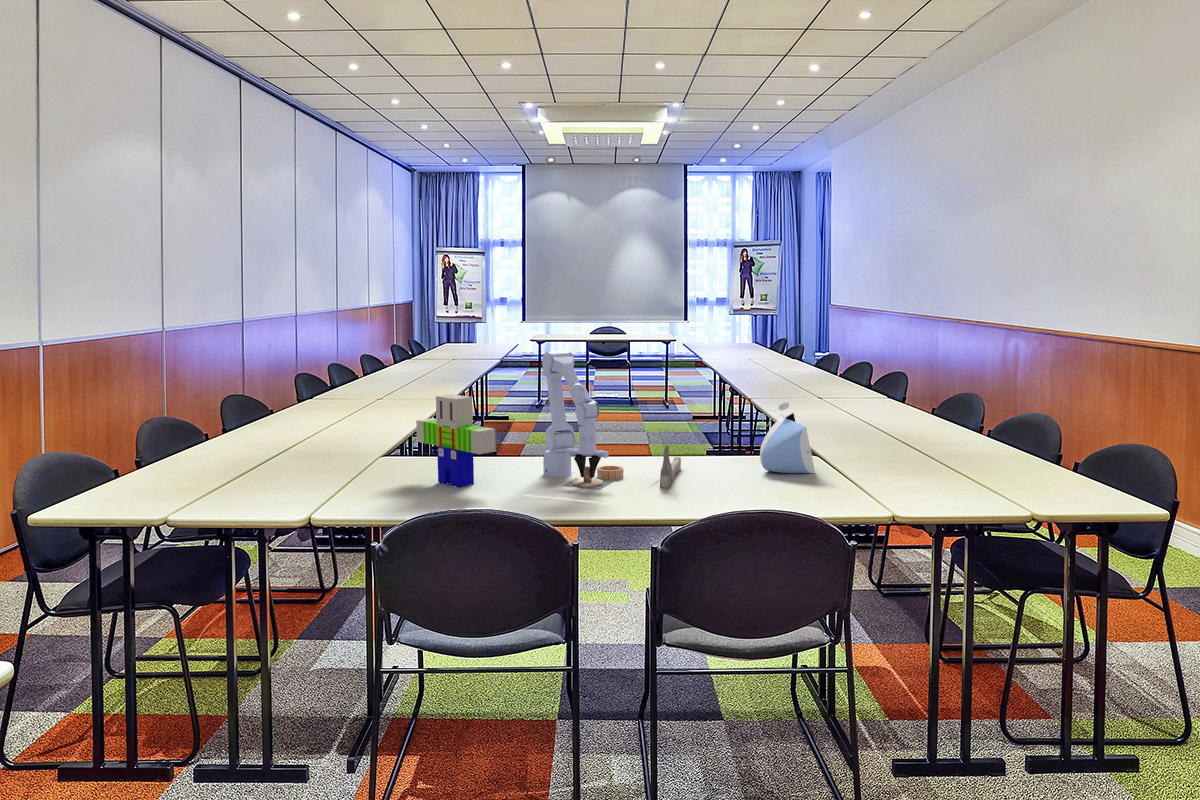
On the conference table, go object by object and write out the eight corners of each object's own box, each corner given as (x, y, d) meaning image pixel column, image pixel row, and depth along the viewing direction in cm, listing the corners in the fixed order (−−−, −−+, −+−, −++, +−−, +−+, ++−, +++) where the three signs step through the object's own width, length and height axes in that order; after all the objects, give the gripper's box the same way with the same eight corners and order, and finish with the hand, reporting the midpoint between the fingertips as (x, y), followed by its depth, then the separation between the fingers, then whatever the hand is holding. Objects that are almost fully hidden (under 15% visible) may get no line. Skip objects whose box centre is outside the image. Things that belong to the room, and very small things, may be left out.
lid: (567, 485, 302) (567, 468, 301) (579, 479, 311) (579, 462, 311) (595, 488, 298) (595, 471, 297) (607, 481, 307) (607, 465, 307)
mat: (561, 487, 302) (561, 485, 302) (575, 480, 313) (575, 478, 313) (600, 491, 297) (600, 489, 297) (613, 483, 308) (613, 481, 307)
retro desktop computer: (789, 397, 336) (823, 402, 322) (800, 454, 342) (834, 461, 328) (740, 423, 323) (773, 429, 309) (753, 481, 330) (786, 490, 316)
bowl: (593, 479, 313) (593, 469, 313) (603, 474, 321) (603, 464, 321) (617, 482, 310) (617, 471, 309) (626, 476, 318) (626, 466, 317)
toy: (418, 477, 317) (415, 393, 313) (433, 474, 322) (431, 391, 318) (480, 493, 294) (478, 402, 290) (496, 489, 299) (494, 400, 295)
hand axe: (668, 490, 298) (668, 449, 296) (658, 490, 298) (658, 448, 297) (682, 472, 332) (682, 435, 331) (673, 471, 333) (673, 434, 331)
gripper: (562, 438, 302) (563, 477, 303) (602, 440, 296) (603, 481, 298) (571, 434, 308) (571, 473, 310) (610, 437, 303) (610, 476, 304)
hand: (587, 477), depth 304 cm, fingers closed on lid, 3 cm apart
